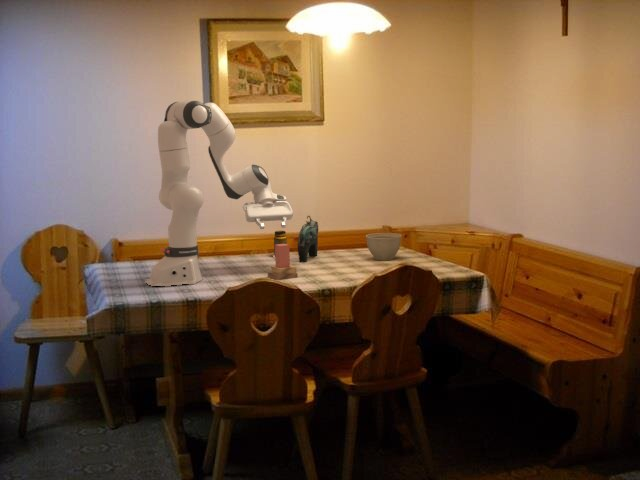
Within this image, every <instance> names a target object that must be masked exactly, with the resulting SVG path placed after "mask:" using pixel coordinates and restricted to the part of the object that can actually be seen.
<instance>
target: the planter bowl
mask: <svg viewBox="0 0 640 480" xmlns="http://www.w3.org/2000/svg"><path fill="white" fill-rule="evenodd" d="M365 239H366V244H367V245H366V246H367V249H368V250H369V253H370V254H371V255H372V257H373V259H374V260H376V261H391V260H394V259H395V258H396V257H395V256H396V255H397V254H398V252H399V250H400V247H401V244H402V242H401V241H402V234H400V233H395V232H394V233H393V232H378V233H377V232H376V233H369V234H366V235H365Z"/></svg>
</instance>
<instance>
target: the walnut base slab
mask: <svg viewBox="0 0 640 480" xmlns="http://www.w3.org/2000/svg"><path fill="white" fill-rule="evenodd" d="M298 275H299V274H298V272H296V273H293V274H285V275H278V274H275V273H272V272H271V271H268V272H267V277H268V278H271V279H273V278H274V279H273V280H277V281H280V280H281V281H282V280H289V279H296V278H298Z"/></svg>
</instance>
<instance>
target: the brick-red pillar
mask: <svg viewBox="0 0 640 480" xmlns="http://www.w3.org/2000/svg"><path fill="white" fill-rule="evenodd" d="M290 257H291V256H290V244H276V245H275V258H274V260H275V266H276V267H278V268H285V267H290V265H291V263H290Z"/></svg>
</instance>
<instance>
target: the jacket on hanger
mask: <svg viewBox="0 0 640 480" xmlns="http://www.w3.org/2000/svg"><path fill="white" fill-rule="evenodd" d="M311 217H312V216H310V215H307V216H306V219H307V220H308V219H309V220H308V221H307V220H306V221H305V223H304V224H303V225H302V226H301V228H300V231H299V234H298V237H297V238H298V239H297V252H298V253H297V254H298V261H299V263H307V262H308V257H309V258H317V257H318V244H319V242H318V241H319V239H318V238H319V235H318V234H319V224H318V221H317V220H313V219H312V218H311Z"/></svg>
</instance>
